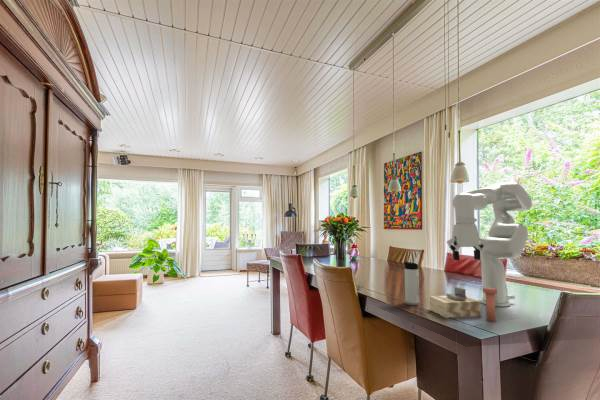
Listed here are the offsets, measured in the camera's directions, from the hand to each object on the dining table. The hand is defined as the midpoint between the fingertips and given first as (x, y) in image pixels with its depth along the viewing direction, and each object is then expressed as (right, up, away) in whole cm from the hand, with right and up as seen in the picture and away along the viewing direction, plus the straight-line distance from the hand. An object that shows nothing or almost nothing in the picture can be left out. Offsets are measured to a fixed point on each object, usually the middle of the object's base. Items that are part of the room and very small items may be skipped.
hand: (466, 259), depth 131 cm
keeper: (-6, -16, -3) cm, 18 cm away
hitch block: (-7, -22, -4) cm, 24 cm away
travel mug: (-20, -24, +11) cm, 33 cm away
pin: (+2, -22, -13) cm, 25 cm away
